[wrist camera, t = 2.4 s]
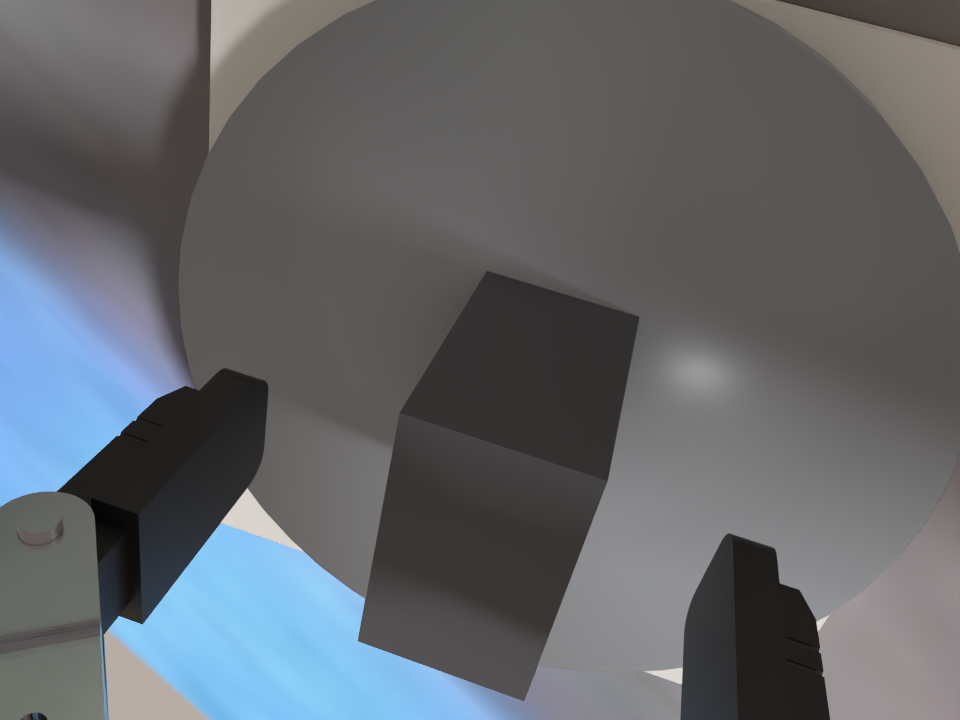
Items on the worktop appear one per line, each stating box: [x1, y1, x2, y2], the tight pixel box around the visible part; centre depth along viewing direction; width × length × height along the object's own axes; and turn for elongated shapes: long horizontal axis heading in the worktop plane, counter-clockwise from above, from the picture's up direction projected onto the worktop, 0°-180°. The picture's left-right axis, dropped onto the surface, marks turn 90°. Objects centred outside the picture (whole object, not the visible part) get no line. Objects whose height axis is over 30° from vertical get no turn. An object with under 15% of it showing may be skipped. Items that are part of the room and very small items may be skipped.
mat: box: [209, 0, 960, 684], centre depth 18 cm, size 16×16×1 cm
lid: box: [178, 0, 960, 701], centre depth 15 cm, size 16×16×6 cm
